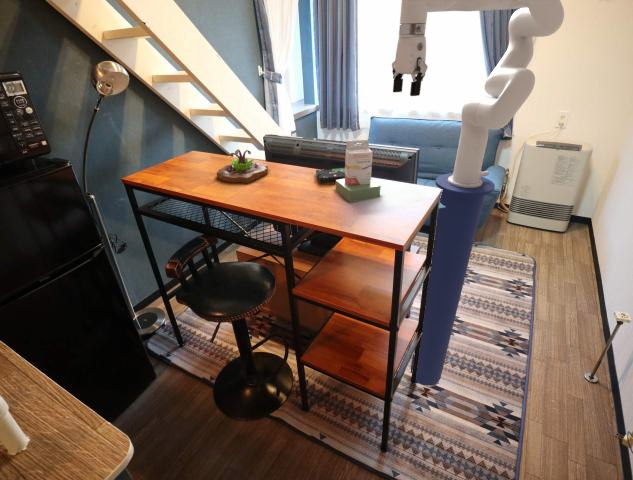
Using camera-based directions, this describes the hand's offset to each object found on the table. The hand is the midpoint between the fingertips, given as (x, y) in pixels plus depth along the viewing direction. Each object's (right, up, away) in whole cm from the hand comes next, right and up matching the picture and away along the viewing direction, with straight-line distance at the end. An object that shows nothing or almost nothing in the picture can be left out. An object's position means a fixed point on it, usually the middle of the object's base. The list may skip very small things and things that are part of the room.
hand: (405, 93), depth 110 cm
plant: (-60, -19, +36) cm, 73 cm away
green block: (-14, -30, +16) cm, 36 cm away
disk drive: (-21, -22, +29) cm, 42 cm away
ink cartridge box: (-14, -26, +14) cm, 33 cm away
